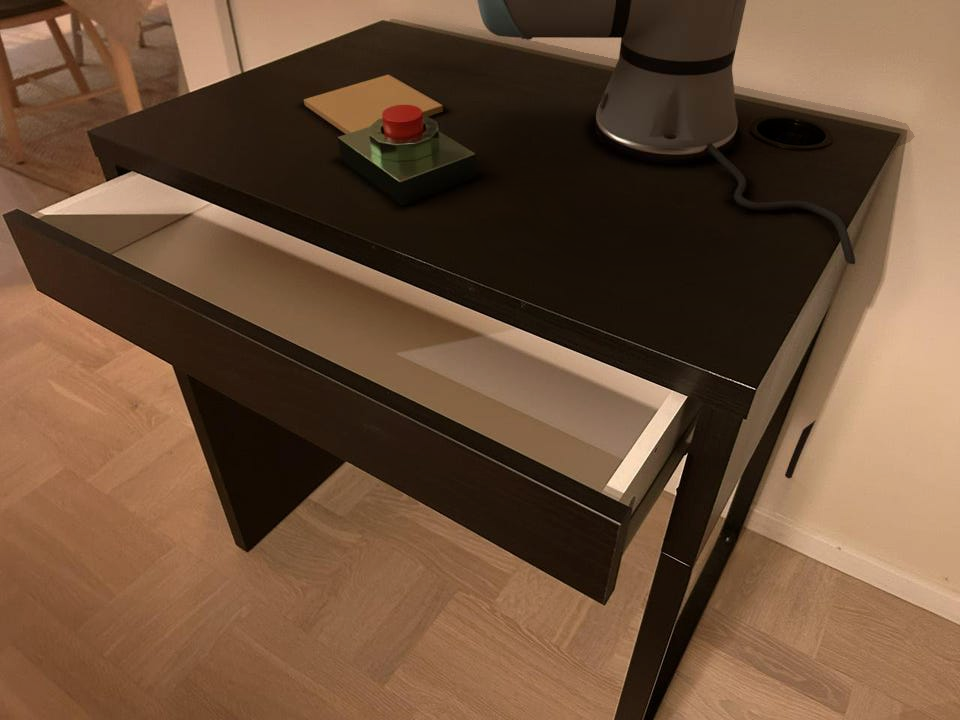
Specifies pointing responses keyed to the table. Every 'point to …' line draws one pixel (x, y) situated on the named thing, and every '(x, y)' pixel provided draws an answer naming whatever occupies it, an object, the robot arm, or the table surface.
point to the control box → (407, 161)
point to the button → (402, 121)
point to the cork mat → (368, 103)
